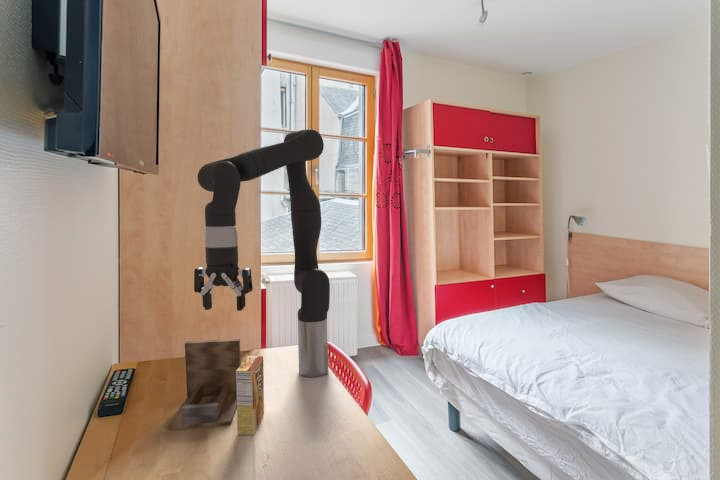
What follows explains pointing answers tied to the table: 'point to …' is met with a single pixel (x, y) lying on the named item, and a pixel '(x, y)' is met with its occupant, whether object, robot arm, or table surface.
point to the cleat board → (209, 384)
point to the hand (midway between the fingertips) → (224, 309)
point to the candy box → (250, 395)
